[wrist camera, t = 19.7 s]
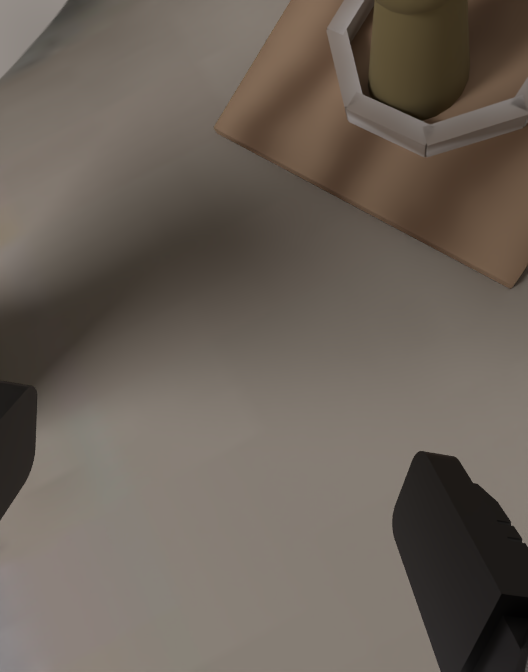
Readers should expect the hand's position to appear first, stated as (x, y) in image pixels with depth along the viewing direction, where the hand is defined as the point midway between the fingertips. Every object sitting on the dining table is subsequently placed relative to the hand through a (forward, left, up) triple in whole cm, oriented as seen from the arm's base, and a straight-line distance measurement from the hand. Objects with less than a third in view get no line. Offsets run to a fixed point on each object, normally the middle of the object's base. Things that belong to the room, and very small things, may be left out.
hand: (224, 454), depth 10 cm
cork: (-8, +20, -20) cm, 29 cm away
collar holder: (-7, +22, -21) cm, 31 cm away
